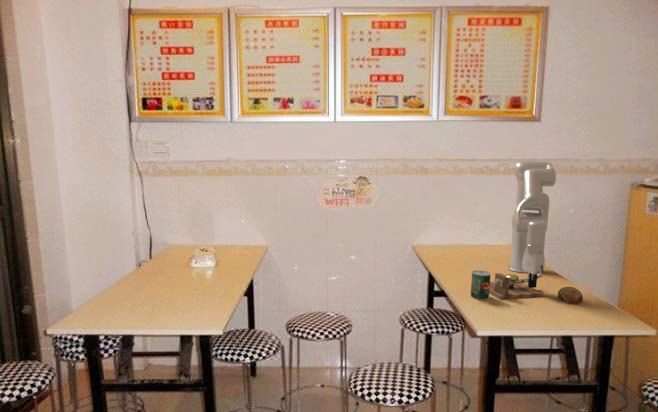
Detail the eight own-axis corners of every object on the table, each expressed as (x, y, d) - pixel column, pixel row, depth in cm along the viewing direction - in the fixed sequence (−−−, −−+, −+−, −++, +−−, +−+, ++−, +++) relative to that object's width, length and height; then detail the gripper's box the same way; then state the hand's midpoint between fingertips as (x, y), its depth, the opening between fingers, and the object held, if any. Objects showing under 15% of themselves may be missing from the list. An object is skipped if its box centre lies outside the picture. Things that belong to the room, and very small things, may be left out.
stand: (515, 282, 232) (517, 264, 231) (543, 296, 213) (545, 275, 211) (475, 285, 227) (477, 266, 225) (500, 299, 207) (501, 278, 206)
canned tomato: (488, 300, 206) (490, 276, 204) (469, 298, 208) (471, 274, 207) (489, 295, 213) (490, 271, 211) (471, 292, 216) (472, 269, 214)
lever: (508, 289, 216) (509, 278, 215) (500, 285, 222) (501, 274, 221) (538, 287, 220) (539, 276, 219) (530, 283, 226) (531, 272, 225)
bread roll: (554, 305, 212) (550, 290, 209) (570, 293, 215) (566, 279, 212) (573, 313, 203) (569, 297, 200) (589, 300, 206) (585, 285, 203)
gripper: (517, 244, 221) (514, 282, 223) (538, 252, 206) (535, 292, 209) (531, 244, 223) (528, 281, 225) (553, 251, 208) (550, 291, 211)
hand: (531, 287), depth 217 cm, fingers closed
